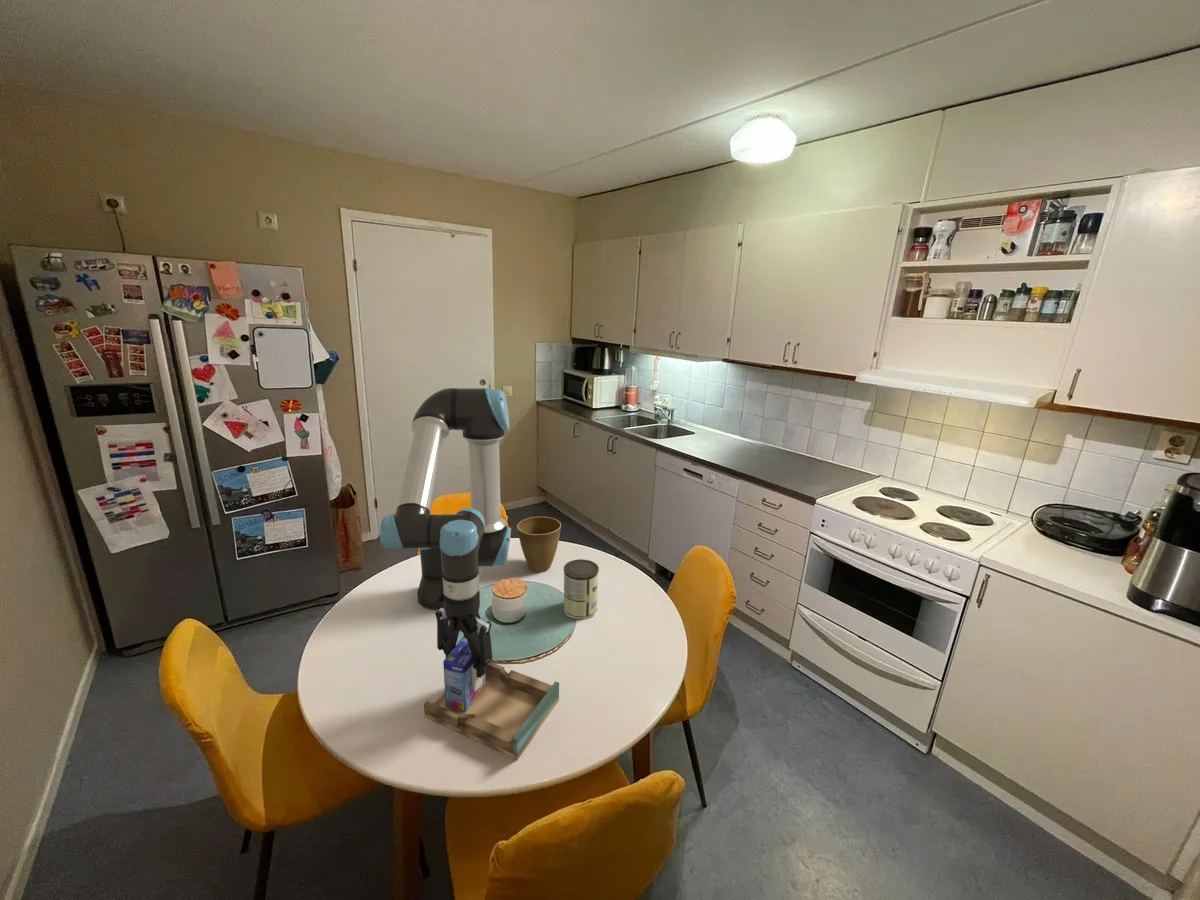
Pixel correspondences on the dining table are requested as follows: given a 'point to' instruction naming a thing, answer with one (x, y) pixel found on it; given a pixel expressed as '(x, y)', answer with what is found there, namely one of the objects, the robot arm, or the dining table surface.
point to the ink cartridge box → (459, 677)
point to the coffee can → (580, 588)
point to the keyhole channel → (500, 710)
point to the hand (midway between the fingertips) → (465, 681)
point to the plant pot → (539, 541)
